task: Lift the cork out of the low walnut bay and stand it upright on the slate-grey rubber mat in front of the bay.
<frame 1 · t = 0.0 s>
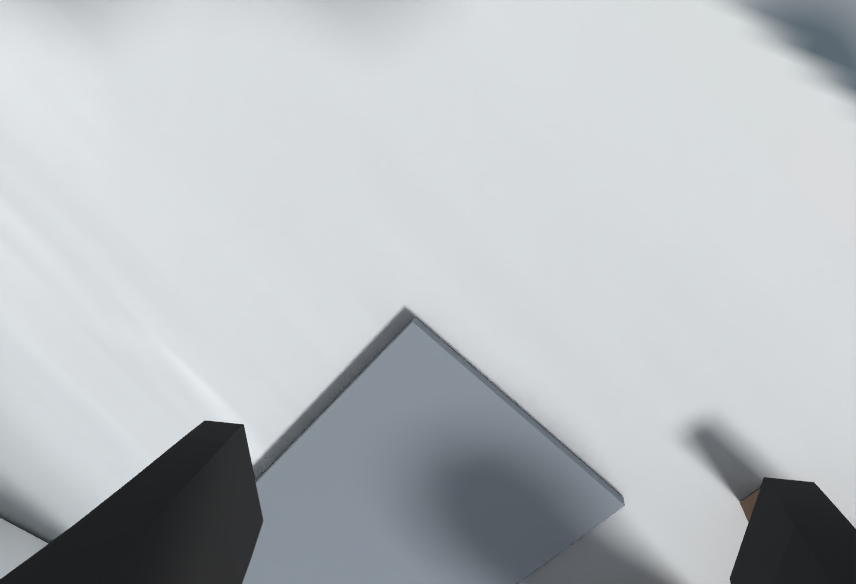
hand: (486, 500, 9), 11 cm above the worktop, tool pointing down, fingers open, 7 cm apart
slate mat: (384, 529, 23), on the worktop
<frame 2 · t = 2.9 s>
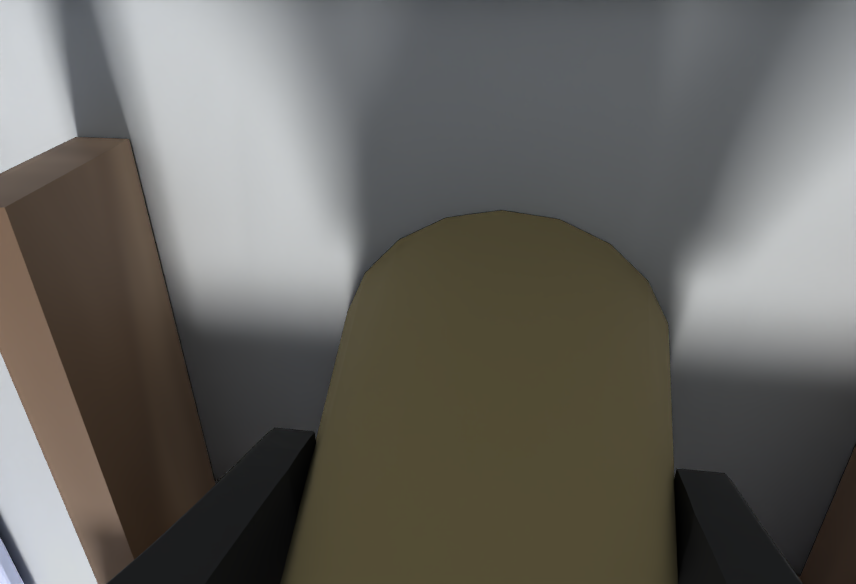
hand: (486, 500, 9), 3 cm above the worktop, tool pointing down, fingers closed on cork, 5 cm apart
walnut bay: (500, 381, 13), on the worktop
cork: (502, 353, 12), on the worktop, touching gripper
when the fingers open (5 cm above the worktop, at t = 6.9 s): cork stays where it is, resting on slate mat.
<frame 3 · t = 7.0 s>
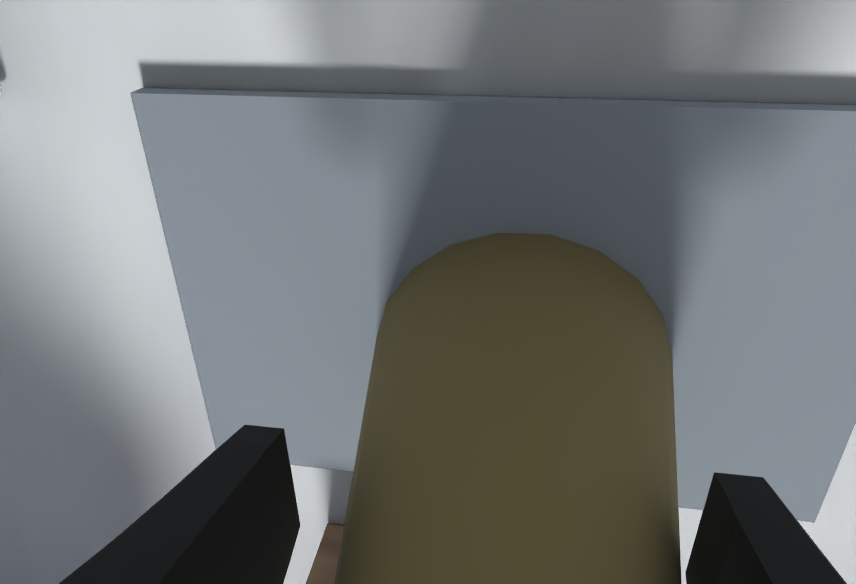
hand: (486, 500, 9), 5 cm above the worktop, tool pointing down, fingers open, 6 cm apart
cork: (518, 358, 14), resting on slate mat
slate mat: (506, 317, 14), on the worktop
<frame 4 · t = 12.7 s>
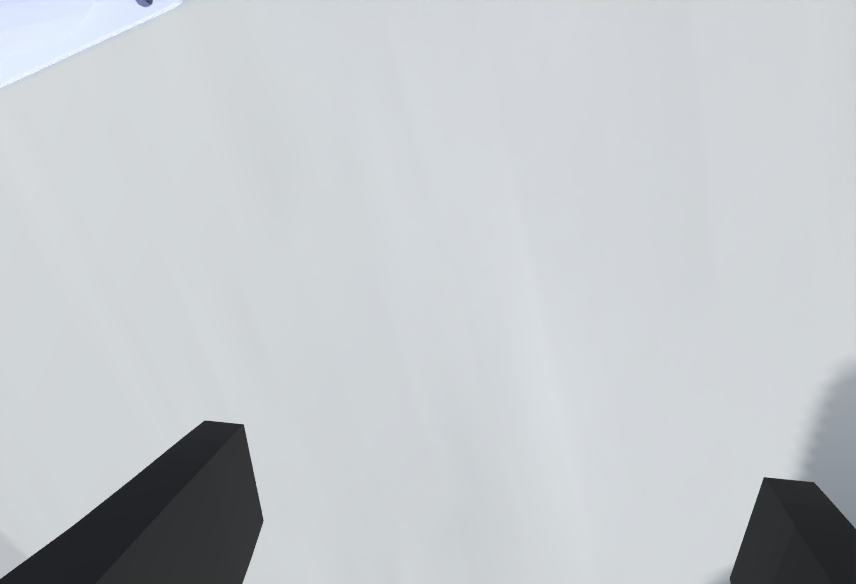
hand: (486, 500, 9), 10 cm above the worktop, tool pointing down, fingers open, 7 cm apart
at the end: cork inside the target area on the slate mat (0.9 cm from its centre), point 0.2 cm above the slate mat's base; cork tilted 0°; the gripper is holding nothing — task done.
